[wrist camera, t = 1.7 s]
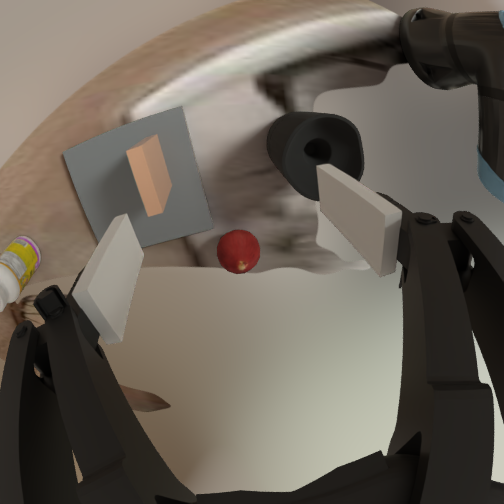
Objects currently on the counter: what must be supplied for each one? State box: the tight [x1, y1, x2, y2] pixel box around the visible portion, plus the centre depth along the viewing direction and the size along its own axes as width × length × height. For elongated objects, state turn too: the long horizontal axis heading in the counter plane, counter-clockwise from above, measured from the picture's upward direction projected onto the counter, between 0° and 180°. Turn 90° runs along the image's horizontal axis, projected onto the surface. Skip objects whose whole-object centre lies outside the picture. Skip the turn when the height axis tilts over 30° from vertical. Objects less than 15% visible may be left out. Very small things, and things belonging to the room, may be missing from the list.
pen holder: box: [267, 112, 364, 201], centre depth 30 cm, size 9×9×10 cm
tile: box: [126, 134, 172, 217], centre depth 28 cm, size 2×7×9 cm, turn 11°
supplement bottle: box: [0, 236, 41, 312], centre depth 29 cm, size 7×7×13 cm
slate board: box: [63, 106, 214, 248], centre depth 33 cm, size 17×17×1 cm
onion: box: [217, 230, 260, 274], centre depth 37 cm, size 6×6×8 cm
